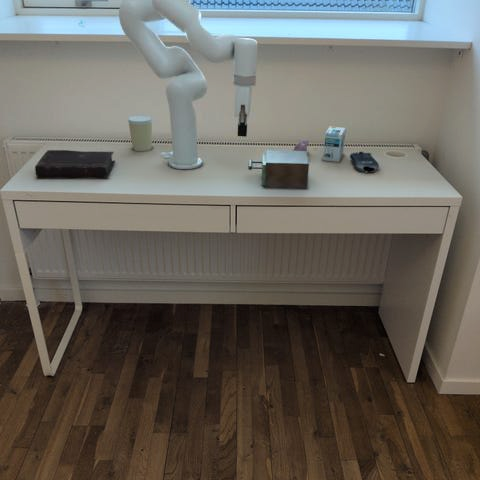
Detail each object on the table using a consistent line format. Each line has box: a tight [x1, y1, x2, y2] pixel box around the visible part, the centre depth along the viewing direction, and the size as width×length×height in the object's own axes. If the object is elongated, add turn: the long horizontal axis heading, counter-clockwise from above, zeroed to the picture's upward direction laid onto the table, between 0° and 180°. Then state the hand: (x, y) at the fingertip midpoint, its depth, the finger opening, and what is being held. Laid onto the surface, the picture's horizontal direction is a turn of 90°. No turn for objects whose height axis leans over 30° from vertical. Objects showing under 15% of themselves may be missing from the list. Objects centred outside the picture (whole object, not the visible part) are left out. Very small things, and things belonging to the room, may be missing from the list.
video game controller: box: [293, 138, 310, 151], centre depth 218 cm, size 10×5×7 cm, turn 168°
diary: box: [34, 149, 116, 179], centre depth 199 cm, size 19×25×5 cm
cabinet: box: [264, 149, 310, 190], centre depth 192 cm, size 15×14×9 cm
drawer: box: [247, 152, 266, 186], centre depth 192 cm, size 18×12×7 cm
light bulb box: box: [322, 125, 347, 163], centre depth 213 cm, size 11×7×11 cm, turn 163°
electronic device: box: [349, 151, 380, 173], centre depth 207 cm, size 9×6×15 cm
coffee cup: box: [127, 115, 153, 152], centre depth 220 cm, size 9×9×12 cm
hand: (242, 135), depth 190 cm, fingers closed
